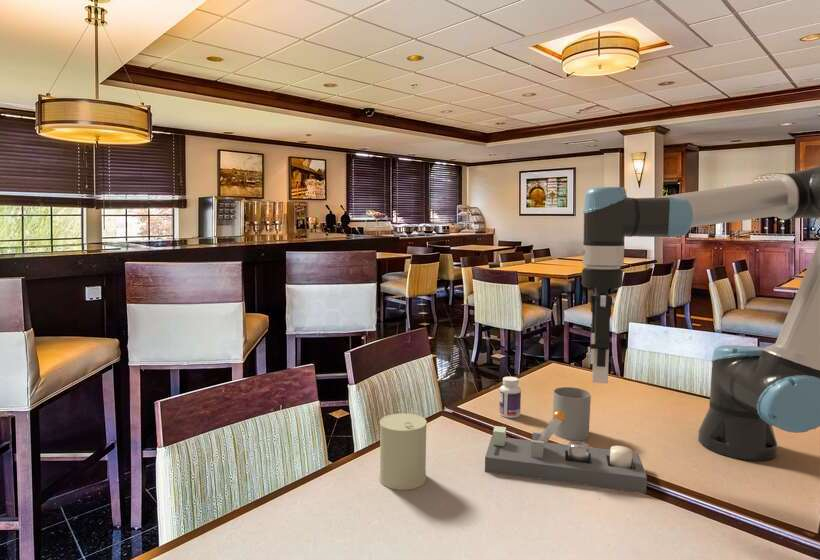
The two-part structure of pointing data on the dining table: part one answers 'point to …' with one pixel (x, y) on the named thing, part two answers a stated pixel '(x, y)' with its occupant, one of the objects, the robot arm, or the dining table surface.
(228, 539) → the dining table surface
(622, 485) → the panel
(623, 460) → the ivory button
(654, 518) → the dining table surface
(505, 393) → the pill bottle
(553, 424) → the lever
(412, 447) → the can
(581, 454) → the grey button
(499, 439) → the slider
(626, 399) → the dining table surface
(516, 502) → the dining table surface
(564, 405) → the cup
